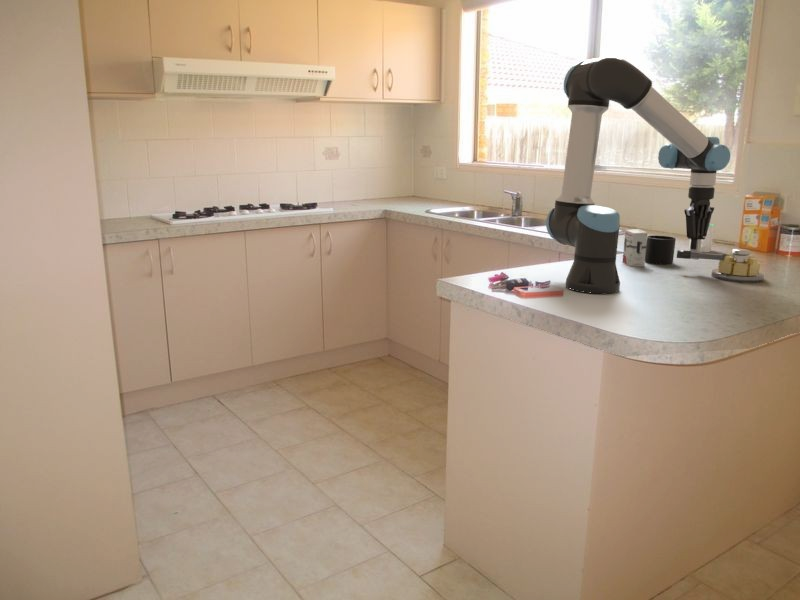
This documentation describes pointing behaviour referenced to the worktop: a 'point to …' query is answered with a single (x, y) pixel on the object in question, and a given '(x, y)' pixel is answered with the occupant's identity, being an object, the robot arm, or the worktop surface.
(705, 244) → the mug
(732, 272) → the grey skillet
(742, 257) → the flange
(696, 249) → the robot arm
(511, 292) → the worktop surface
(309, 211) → the worktop surface
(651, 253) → the mug
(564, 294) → the worktop surface
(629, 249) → the ink box
